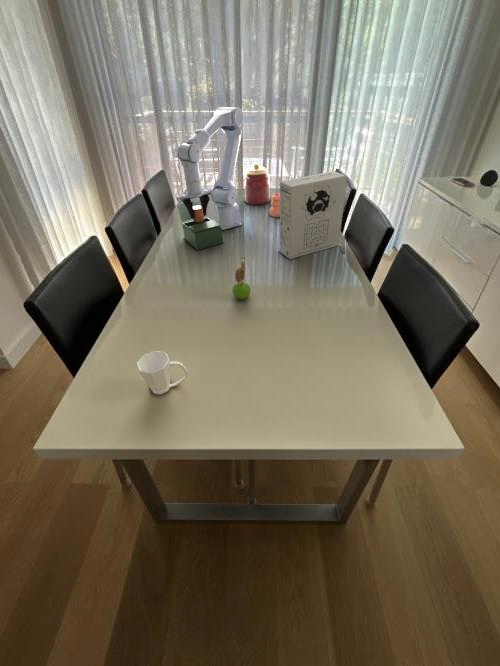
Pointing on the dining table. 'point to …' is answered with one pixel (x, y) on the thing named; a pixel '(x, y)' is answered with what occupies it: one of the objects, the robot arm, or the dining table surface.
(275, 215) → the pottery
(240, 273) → the figurine on green ball
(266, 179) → the kitchen canister
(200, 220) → the pot
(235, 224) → the robot arm
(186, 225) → the box
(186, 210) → the pale green slab
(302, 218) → the cereal box
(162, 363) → the cup
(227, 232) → the dining table surface
